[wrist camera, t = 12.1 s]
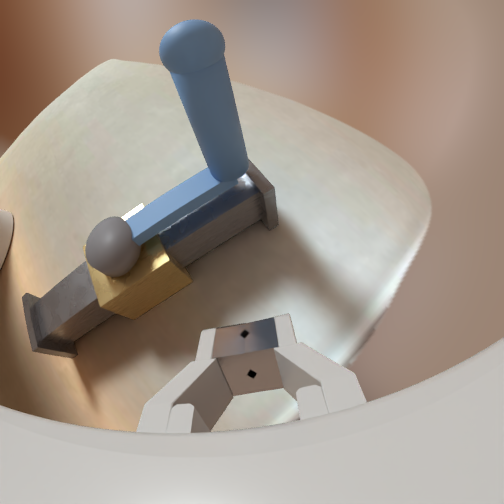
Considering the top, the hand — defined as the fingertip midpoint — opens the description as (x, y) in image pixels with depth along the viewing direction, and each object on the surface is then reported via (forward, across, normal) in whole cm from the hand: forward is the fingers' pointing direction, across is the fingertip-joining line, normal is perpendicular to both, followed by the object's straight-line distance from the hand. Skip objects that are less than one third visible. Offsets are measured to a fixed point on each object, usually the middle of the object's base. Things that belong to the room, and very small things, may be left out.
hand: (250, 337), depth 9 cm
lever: (+13, +6, -2) cm, 15 cm away
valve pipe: (+16, +10, +3) cm, 19 cm away
